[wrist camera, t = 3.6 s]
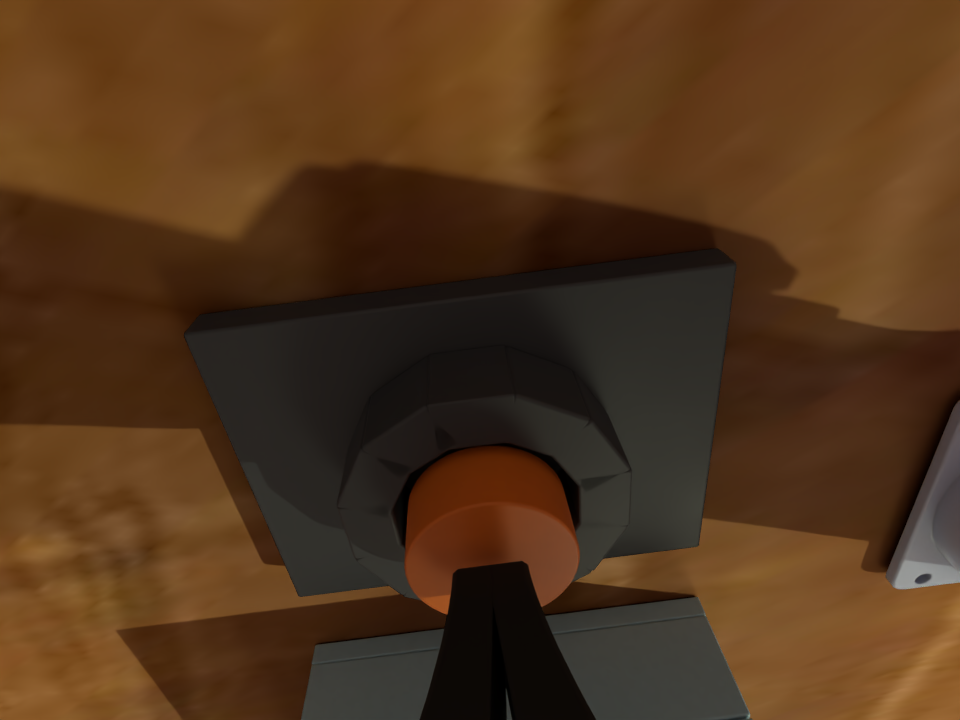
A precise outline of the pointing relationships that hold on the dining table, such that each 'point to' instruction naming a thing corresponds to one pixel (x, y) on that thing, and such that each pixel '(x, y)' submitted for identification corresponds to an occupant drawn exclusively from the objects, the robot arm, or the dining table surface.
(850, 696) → the dining table surface
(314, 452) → the release block
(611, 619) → the box
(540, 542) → the button
